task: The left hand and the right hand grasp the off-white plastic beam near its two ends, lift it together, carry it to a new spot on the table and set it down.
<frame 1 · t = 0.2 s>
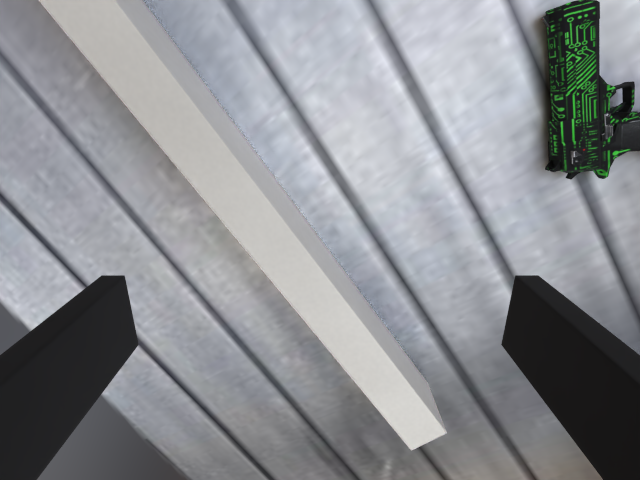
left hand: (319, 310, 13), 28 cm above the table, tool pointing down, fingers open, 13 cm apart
beam: (254, 185, 39), on the table
handgun: (608, 92, 36), on the table
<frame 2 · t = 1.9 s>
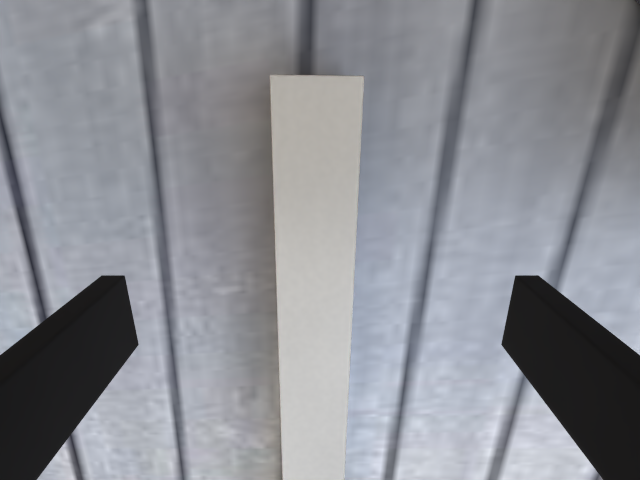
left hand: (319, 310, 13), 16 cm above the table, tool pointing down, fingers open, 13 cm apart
beam: (314, 448, 37), on the table
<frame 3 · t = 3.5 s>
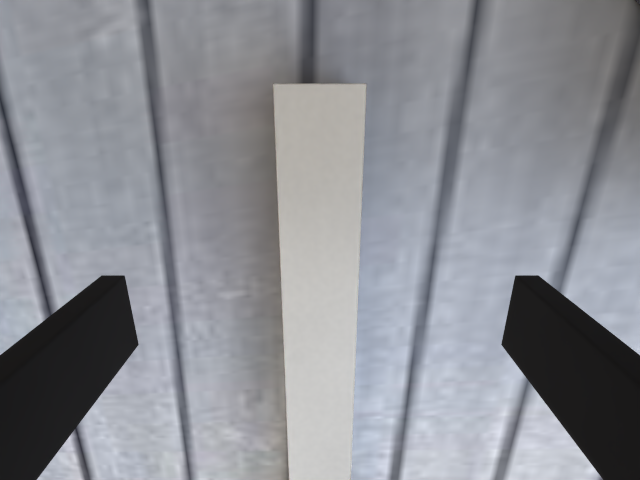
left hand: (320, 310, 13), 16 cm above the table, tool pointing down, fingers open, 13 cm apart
beam: (319, 450, 37), on the table, touching right hand
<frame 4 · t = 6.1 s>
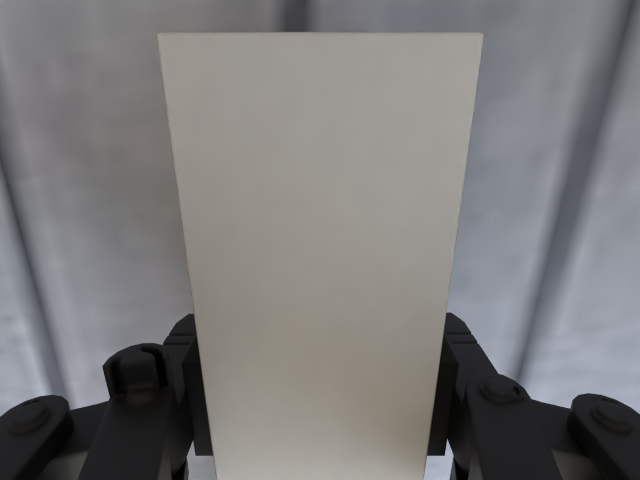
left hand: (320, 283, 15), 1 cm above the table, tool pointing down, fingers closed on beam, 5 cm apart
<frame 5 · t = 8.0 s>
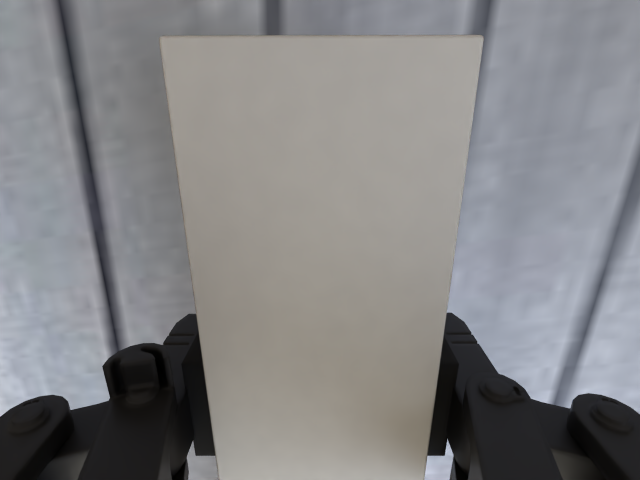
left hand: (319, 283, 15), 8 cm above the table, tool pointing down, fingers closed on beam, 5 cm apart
when the left hand's fingers open (2 cm above the table, at t = 10.2 s): beam stays where it is, on the table.
when the right hand's fingers open (2 cm above the table, at t = 10.3 s): beam stays where it is, on the table.
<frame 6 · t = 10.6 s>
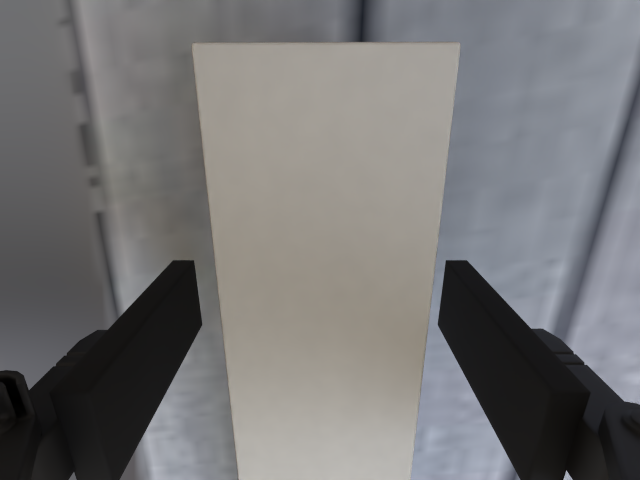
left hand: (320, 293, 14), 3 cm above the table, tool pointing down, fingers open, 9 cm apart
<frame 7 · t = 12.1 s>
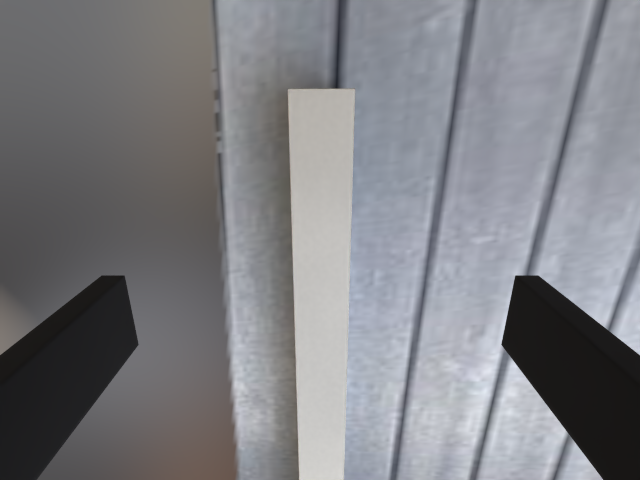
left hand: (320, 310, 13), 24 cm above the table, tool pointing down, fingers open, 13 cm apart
beam: (321, 395, 44), on the table
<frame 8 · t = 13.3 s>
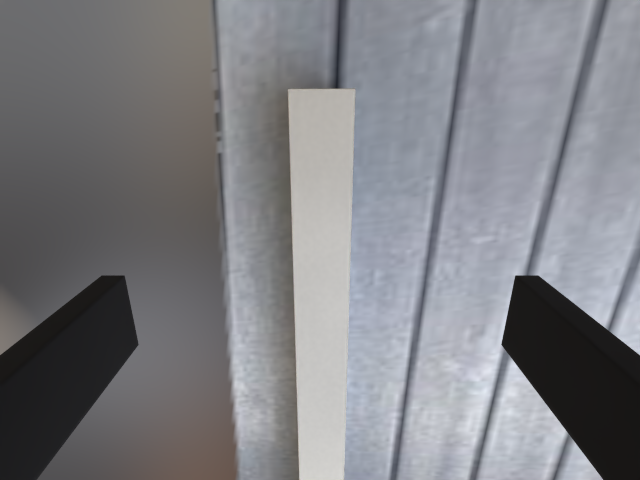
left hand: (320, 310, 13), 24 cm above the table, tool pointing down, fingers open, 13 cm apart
beam: (321, 395, 44), on the table
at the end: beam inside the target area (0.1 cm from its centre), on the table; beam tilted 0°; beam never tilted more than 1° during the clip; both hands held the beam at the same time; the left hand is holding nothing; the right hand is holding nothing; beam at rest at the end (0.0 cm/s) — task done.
